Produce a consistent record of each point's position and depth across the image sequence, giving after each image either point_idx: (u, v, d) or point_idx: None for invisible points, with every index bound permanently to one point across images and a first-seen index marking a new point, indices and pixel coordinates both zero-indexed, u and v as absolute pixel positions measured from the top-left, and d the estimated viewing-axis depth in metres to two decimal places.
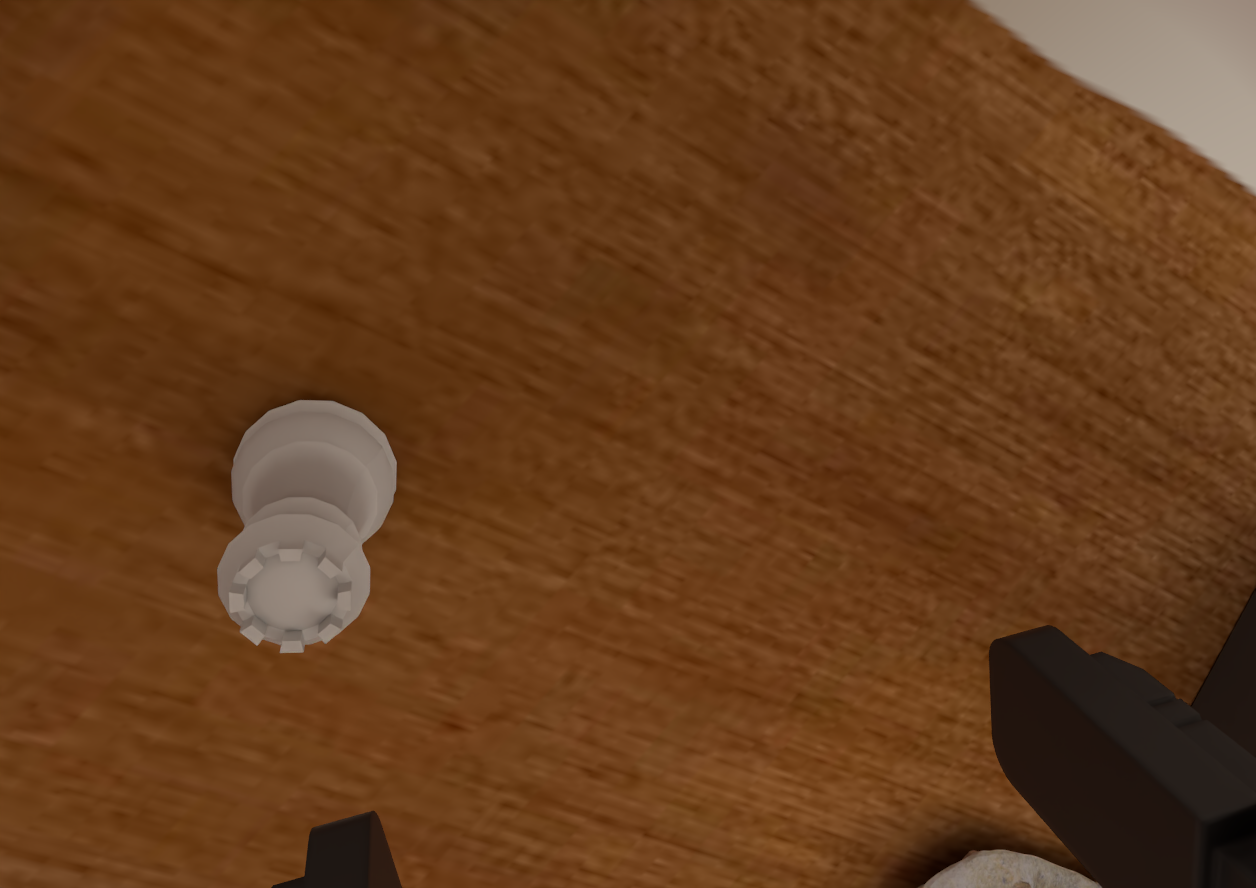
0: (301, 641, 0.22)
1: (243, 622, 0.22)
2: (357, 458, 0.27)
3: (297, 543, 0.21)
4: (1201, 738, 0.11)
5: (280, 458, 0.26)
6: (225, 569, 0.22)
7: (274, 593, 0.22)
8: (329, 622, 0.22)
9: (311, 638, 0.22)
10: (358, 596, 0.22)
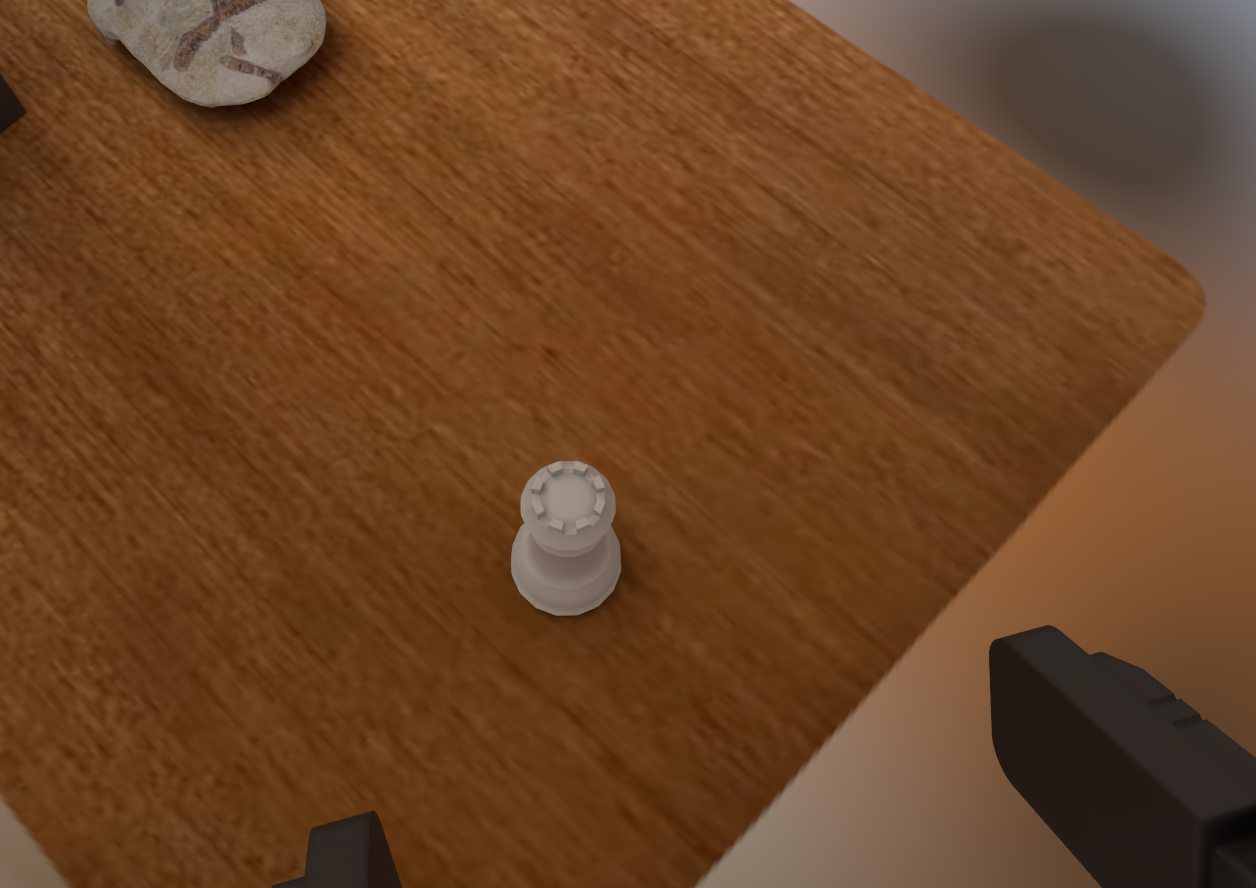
0: (573, 467, 0.34)
1: (604, 490, 0.34)
2: (527, 564, 0.38)
3: (551, 529, 0.33)
4: (1201, 738, 0.11)
5: (572, 582, 0.38)
6: (603, 526, 0.34)
7: (578, 503, 0.34)
8: (552, 473, 0.34)
9: (570, 466, 0.35)
10: (533, 481, 0.34)
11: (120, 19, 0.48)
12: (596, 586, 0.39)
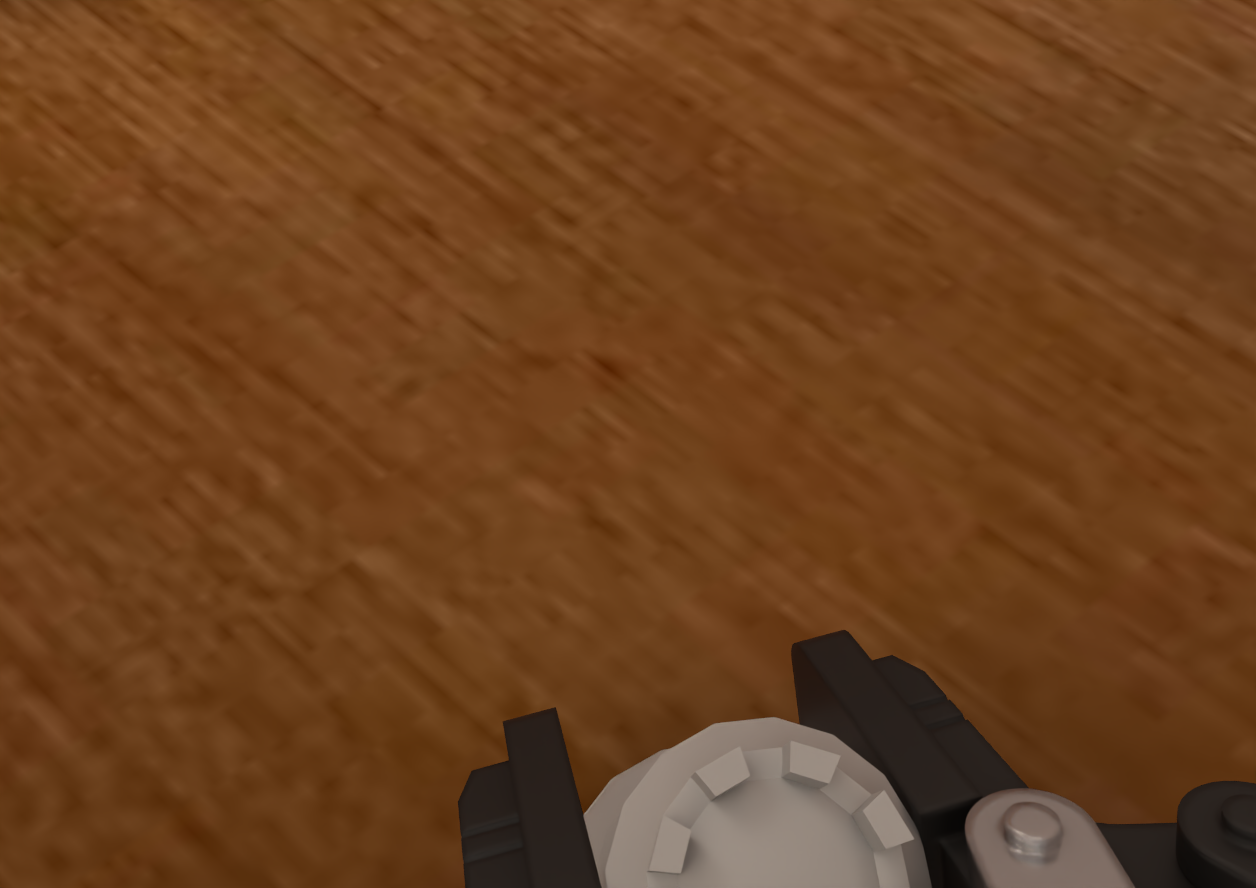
0: (788, 766, 0.10)
1: None
2: None
3: None
4: (956, 737, 0.12)
5: None
6: None
7: None
8: (718, 795, 0.09)
9: (767, 749, 0.10)
10: (645, 817, 0.10)
11: None
12: None
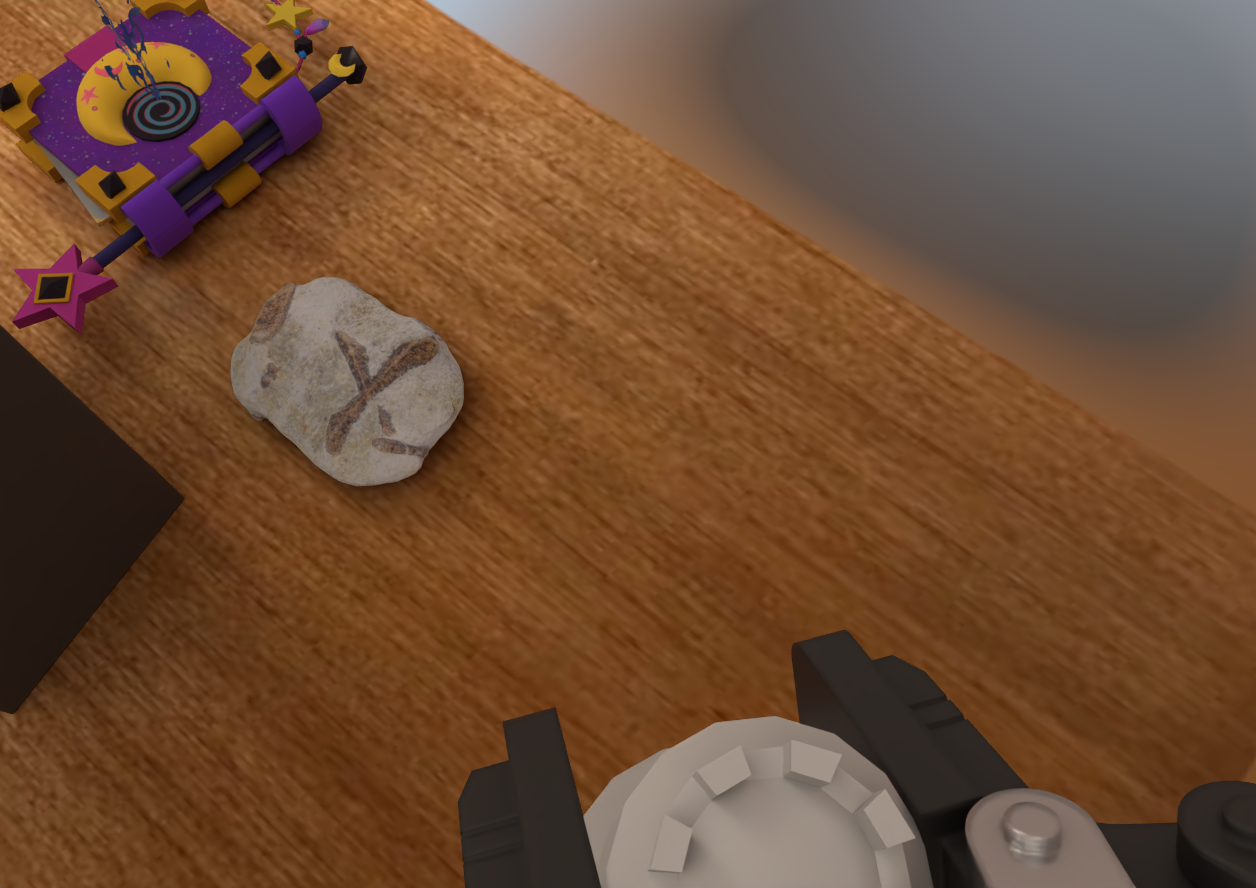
0: (789, 765, 0.10)
1: (900, 836, 0.10)
2: None
3: None
4: (957, 737, 0.12)
5: None
6: None
7: None
8: (719, 794, 0.09)
9: (768, 748, 0.10)
10: (646, 816, 0.10)
11: (267, 400, 0.50)
12: None
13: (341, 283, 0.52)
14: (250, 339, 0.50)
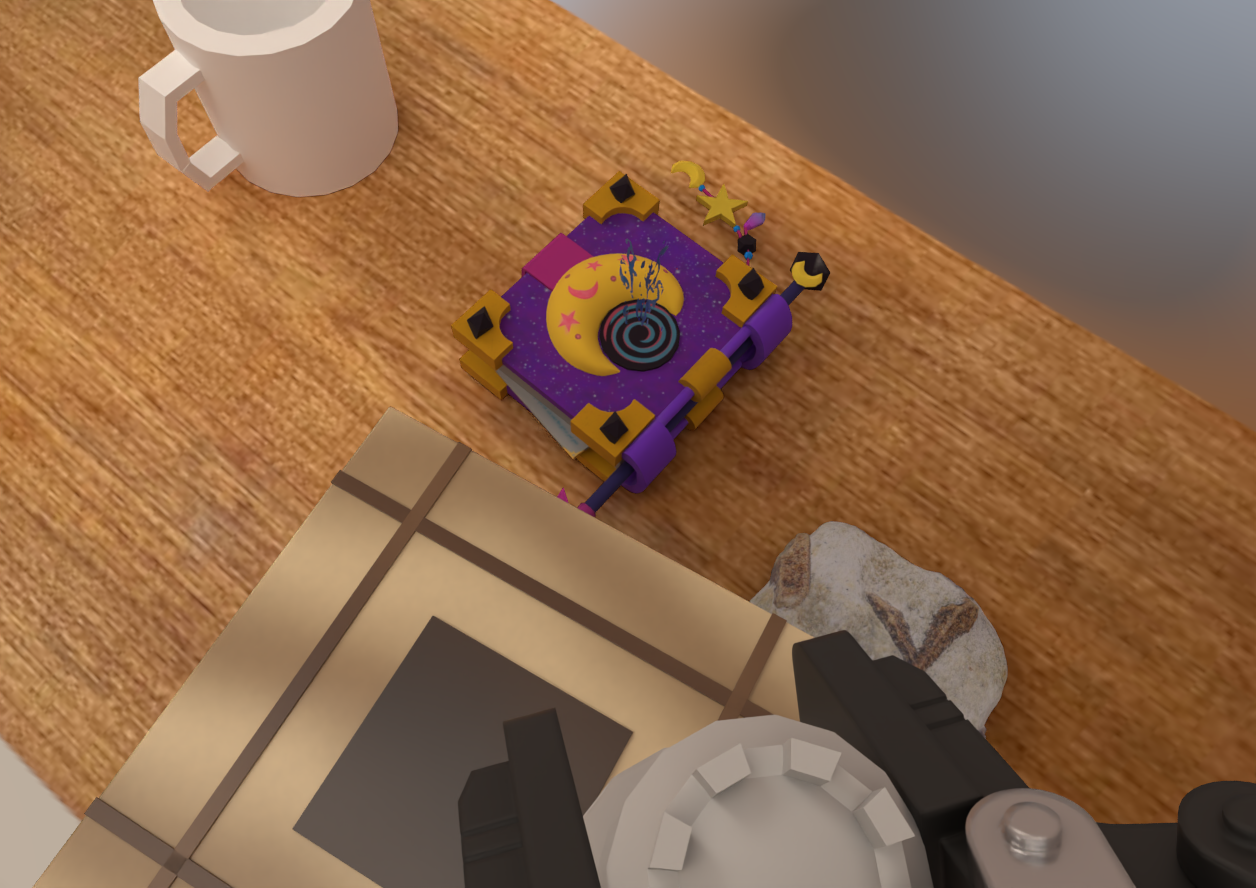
0: (789, 763, 0.10)
1: None
2: None
3: None
4: (957, 737, 0.12)
5: None
6: None
7: None
8: (720, 791, 0.10)
9: (768, 746, 0.10)
10: (646, 814, 0.10)
11: None
12: None
13: (855, 533, 0.48)
14: (777, 603, 0.46)
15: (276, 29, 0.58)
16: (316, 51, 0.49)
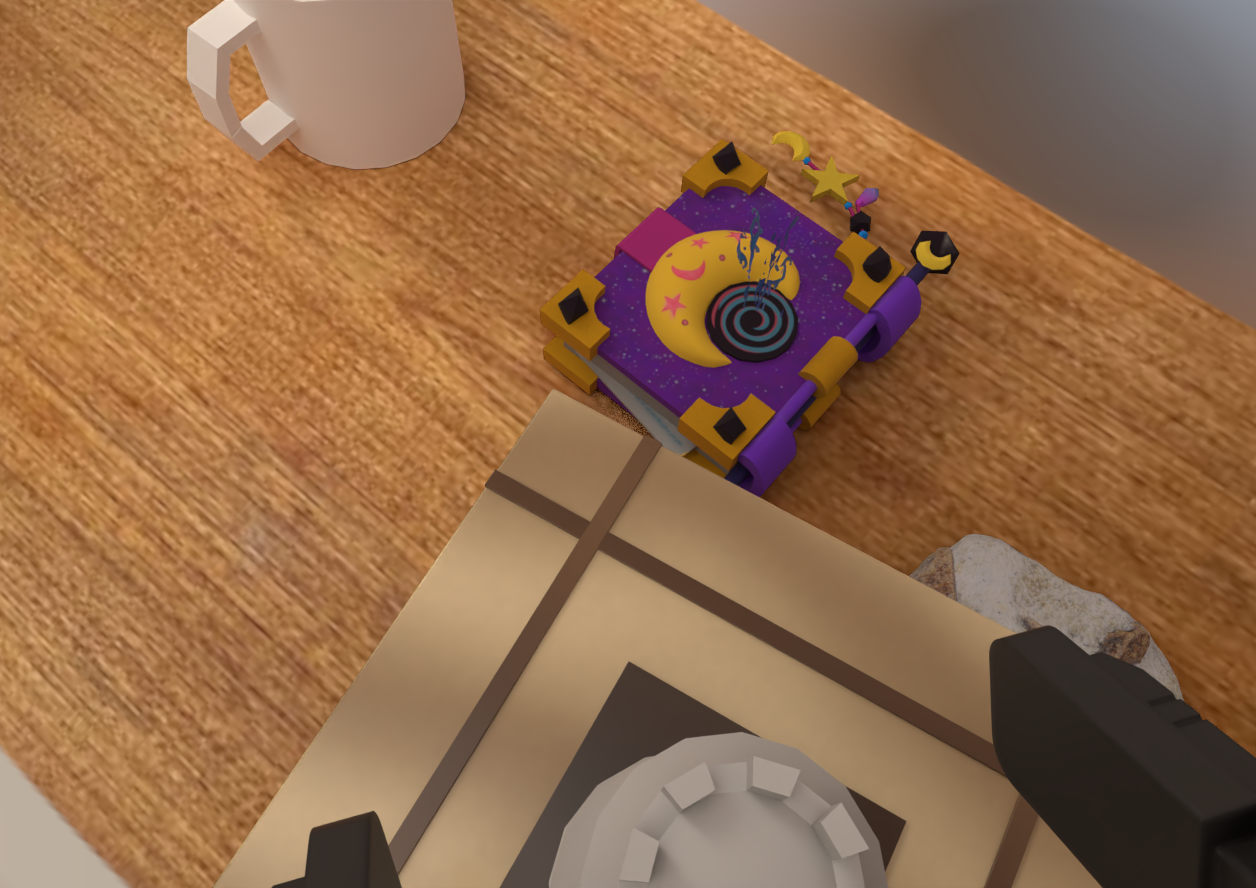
0: (751, 780, 0.10)
1: (855, 846, 0.10)
2: None
3: None
4: (1201, 738, 0.11)
5: None
6: None
7: None
8: (684, 808, 0.10)
9: (733, 763, 0.11)
10: (617, 828, 0.11)
11: None
12: None
13: (1002, 547, 0.42)
14: None
15: None
16: None
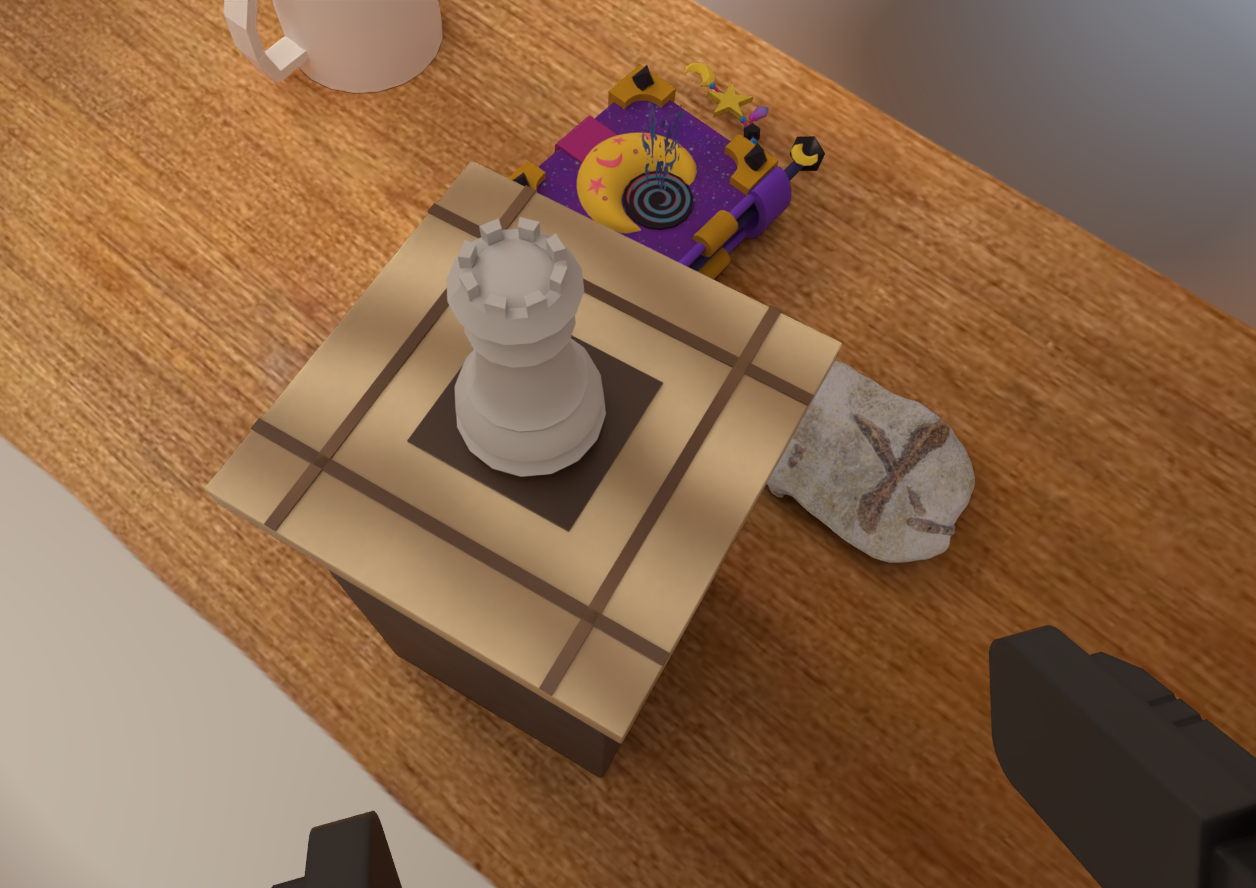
0: (518, 226, 0.24)
1: (565, 258, 0.24)
2: None
3: (490, 311, 0.23)
4: (1201, 738, 0.11)
5: (536, 419, 0.27)
6: (566, 309, 0.23)
7: (527, 274, 0.23)
8: (488, 236, 0.23)
9: (514, 229, 0.24)
10: None
11: (793, 479, 0.53)
12: (571, 427, 0.28)
13: (844, 367, 0.55)
14: None
15: None
16: None
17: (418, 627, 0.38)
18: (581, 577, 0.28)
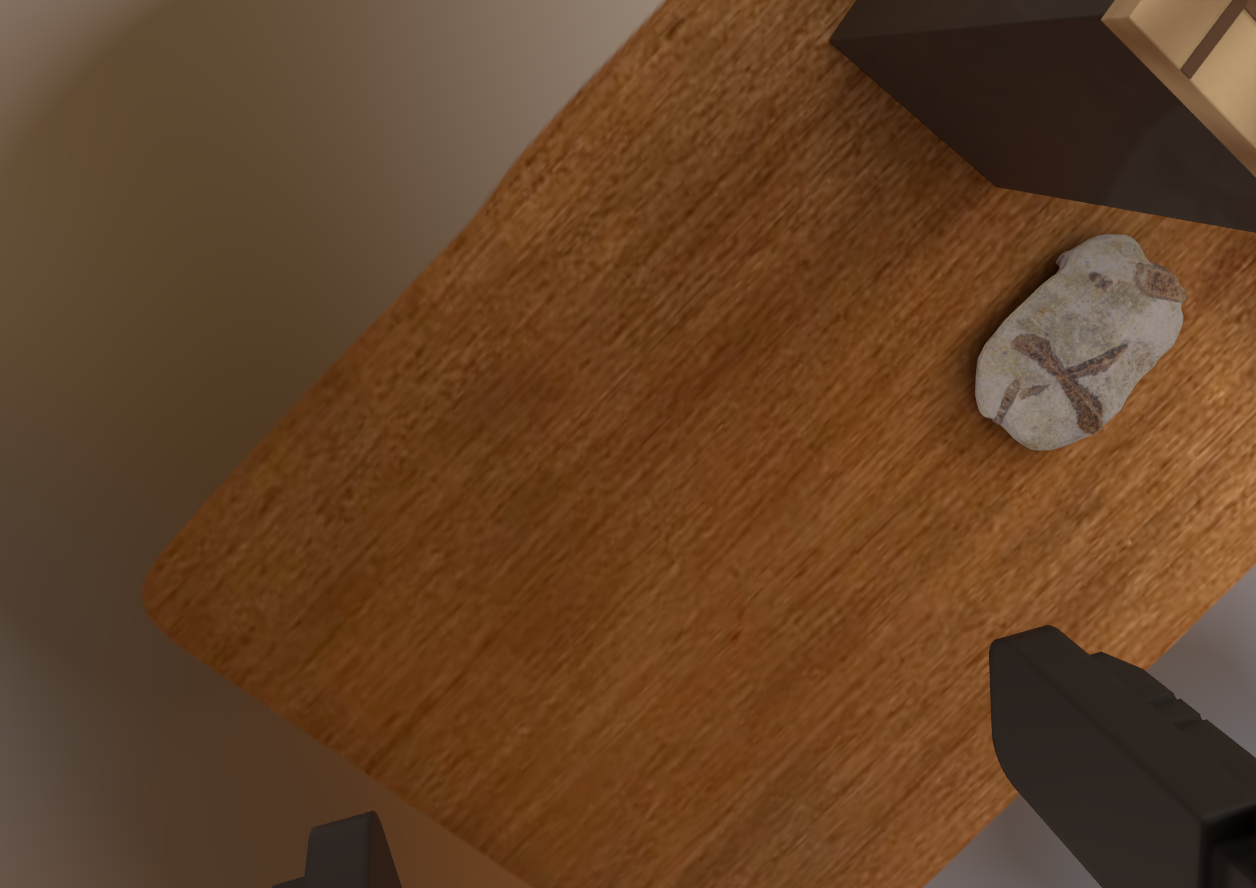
0: None
1: None
2: None
3: None
4: (1201, 738, 0.11)
5: None
6: None
7: None
8: None
9: None
10: None
11: (1076, 275, 0.53)
12: None
13: (1172, 342, 0.54)
14: (1140, 265, 0.52)
15: None
16: None
17: None
18: None
